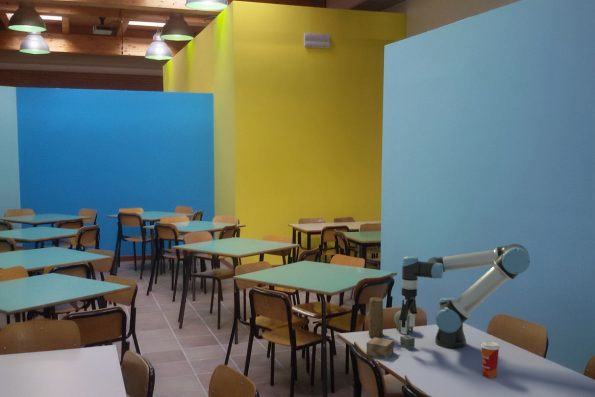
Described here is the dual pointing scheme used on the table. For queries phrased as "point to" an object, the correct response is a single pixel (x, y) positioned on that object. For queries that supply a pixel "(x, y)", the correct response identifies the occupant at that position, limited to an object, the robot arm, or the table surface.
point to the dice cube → (407, 342)
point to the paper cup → (489, 359)
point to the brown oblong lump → (376, 317)
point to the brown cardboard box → (380, 347)
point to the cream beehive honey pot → (398, 322)
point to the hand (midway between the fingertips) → (407, 330)
